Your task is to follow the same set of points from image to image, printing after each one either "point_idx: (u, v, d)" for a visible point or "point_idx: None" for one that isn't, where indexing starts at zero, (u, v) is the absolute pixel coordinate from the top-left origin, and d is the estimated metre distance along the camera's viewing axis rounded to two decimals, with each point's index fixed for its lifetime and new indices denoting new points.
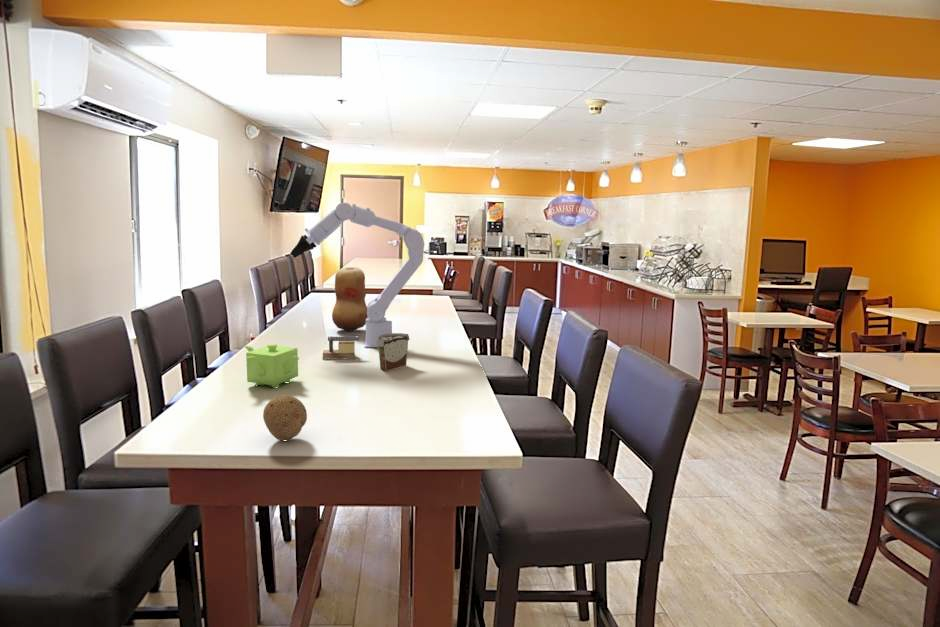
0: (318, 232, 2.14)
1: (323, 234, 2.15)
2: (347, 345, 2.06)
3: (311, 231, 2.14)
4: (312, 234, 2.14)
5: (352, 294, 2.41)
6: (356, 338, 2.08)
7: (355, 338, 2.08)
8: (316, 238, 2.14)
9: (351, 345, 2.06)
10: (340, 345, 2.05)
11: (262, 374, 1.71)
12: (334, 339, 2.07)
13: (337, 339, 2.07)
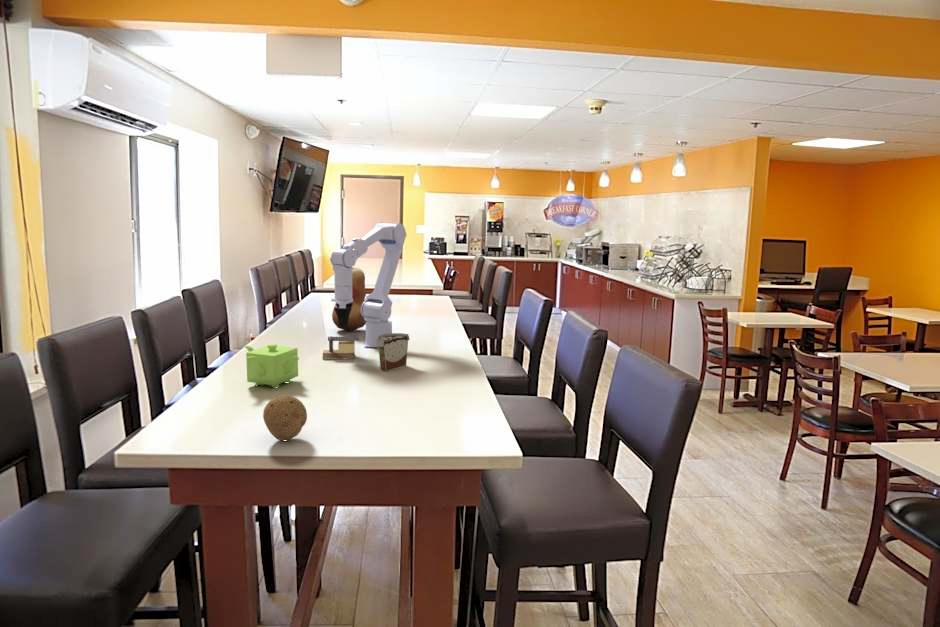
0: (342, 293, 2.07)
1: (347, 290, 2.07)
2: (347, 345, 2.06)
3: (337, 297, 2.08)
4: (340, 298, 2.07)
5: (352, 294, 2.41)
6: (356, 338, 2.08)
7: (355, 338, 2.08)
8: (345, 298, 2.07)
9: (351, 345, 2.06)
10: (340, 345, 2.05)
11: (262, 374, 1.71)
12: (334, 339, 2.07)
13: (337, 339, 2.07)
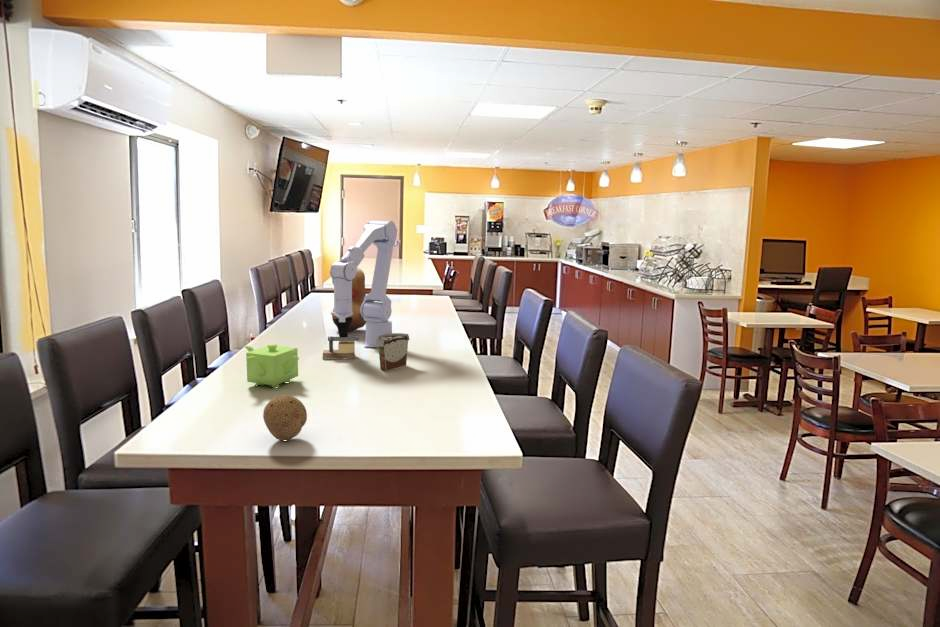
0: (341, 306, 2.04)
1: (347, 304, 2.05)
2: (347, 345, 2.06)
3: (336, 311, 2.05)
4: (339, 312, 2.05)
5: (352, 294, 2.41)
6: (356, 338, 2.08)
7: (355, 338, 2.08)
8: (345, 312, 2.05)
9: (351, 345, 2.06)
10: (340, 345, 2.05)
11: (262, 374, 1.71)
12: (334, 339, 2.07)
13: (337, 339, 2.07)
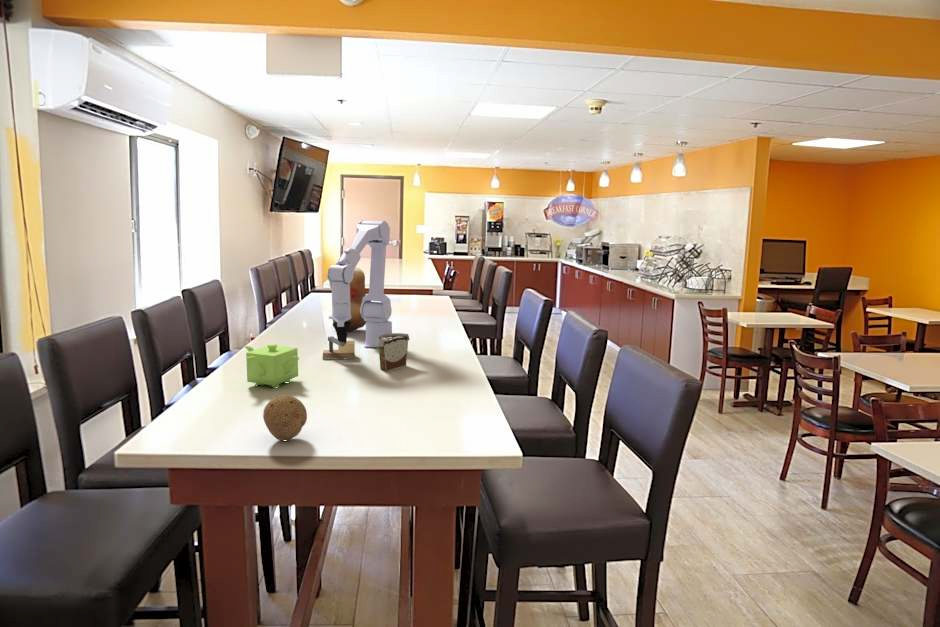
0: (340, 310, 2.00)
1: (345, 307, 2.00)
2: (347, 345, 2.06)
3: (335, 315, 2.00)
4: (338, 316, 2.00)
5: (352, 294, 2.41)
6: (339, 343, 2.00)
7: (339, 343, 2.00)
8: (344, 316, 2.00)
9: (351, 345, 2.06)
10: None
11: (262, 374, 1.71)
12: (330, 340, 2.06)
13: (332, 340, 2.05)
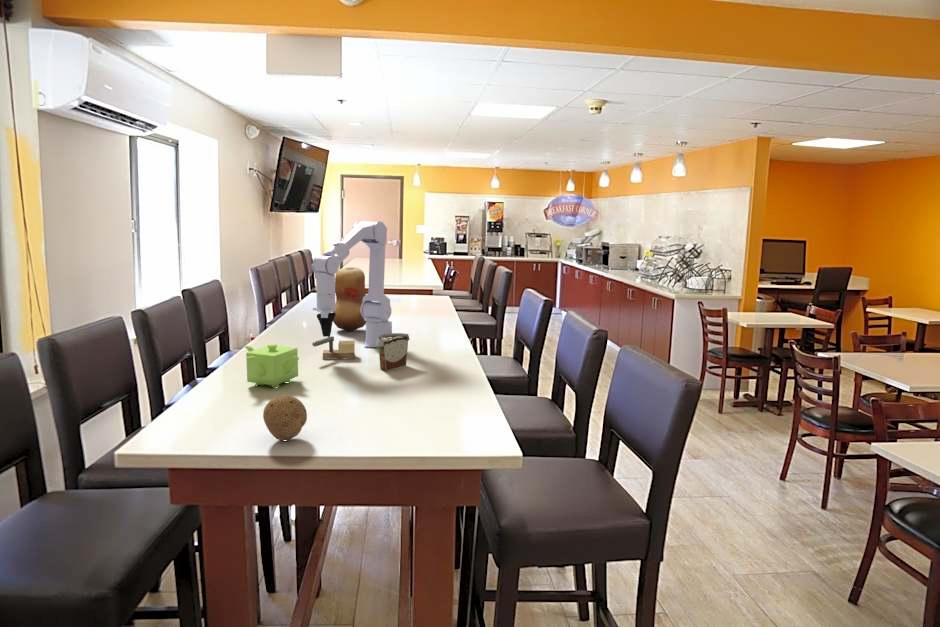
0: (324, 301, 1.97)
1: (329, 299, 1.98)
2: (347, 345, 2.06)
3: (319, 306, 1.98)
4: (322, 307, 1.98)
5: (352, 294, 2.41)
6: None
7: None
8: (328, 307, 1.98)
9: (351, 345, 2.06)
10: (340, 345, 2.05)
11: (262, 374, 1.71)
12: None
13: None
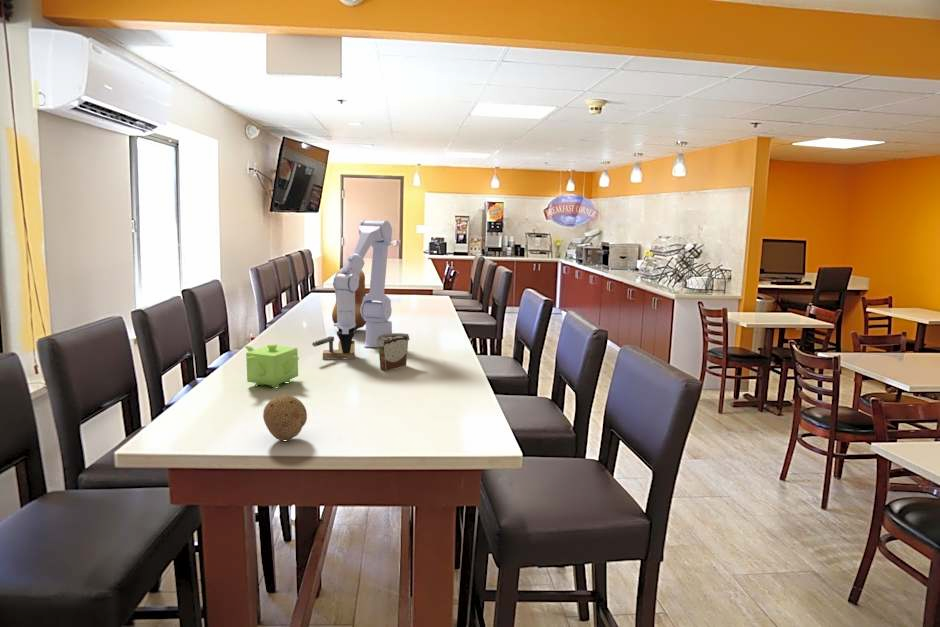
0: (345, 318, 2.04)
1: (350, 315, 2.04)
2: None
3: (339, 322, 2.04)
4: (342, 324, 2.04)
5: None
6: None
7: None
8: (348, 323, 2.04)
9: (351, 345, 2.06)
10: (340, 345, 2.05)
11: (262, 374, 1.71)
12: None
13: None
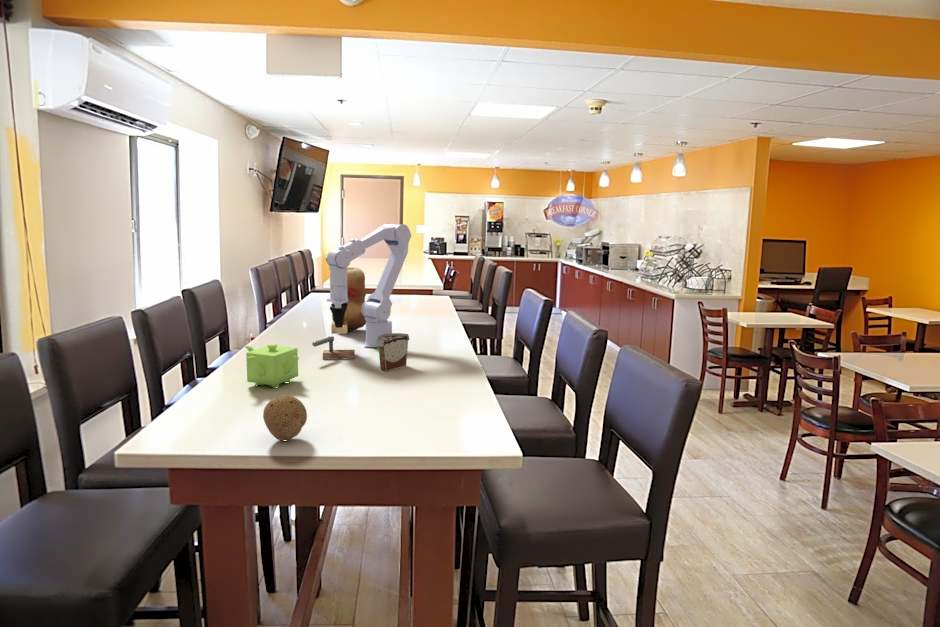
0: (337, 292, 2.10)
1: (342, 290, 2.10)
2: None
3: (332, 297, 2.10)
4: (335, 298, 2.10)
5: (352, 294, 2.41)
6: None
7: None
8: (341, 298, 2.10)
9: (344, 326, 2.12)
10: (333, 325, 2.12)
11: (262, 374, 1.71)
12: None
13: None
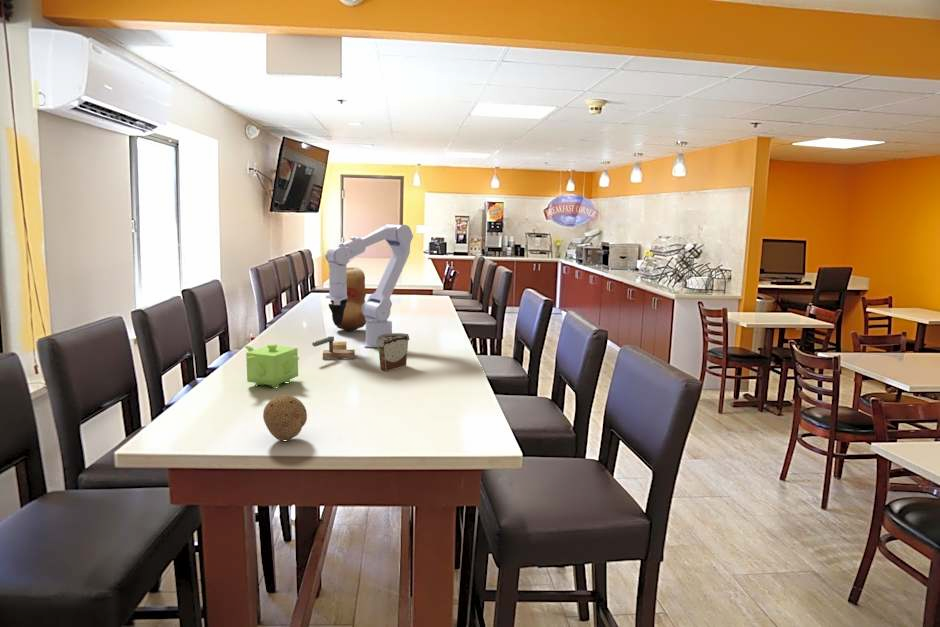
0: (336, 289, 2.10)
1: (341, 287, 2.11)
2: (339, 346, 2.14)
3: (331, 294, 2.11)
4: (334, 295, 2.11)
5: (352, 294, 2.41)
6: None
7: None
8: (340, 295, 2.11)
9: (343, 346, 2.14)
10: (333, 346, 2.14)
11: (262, 374, 1.71)
12: None
13: None
